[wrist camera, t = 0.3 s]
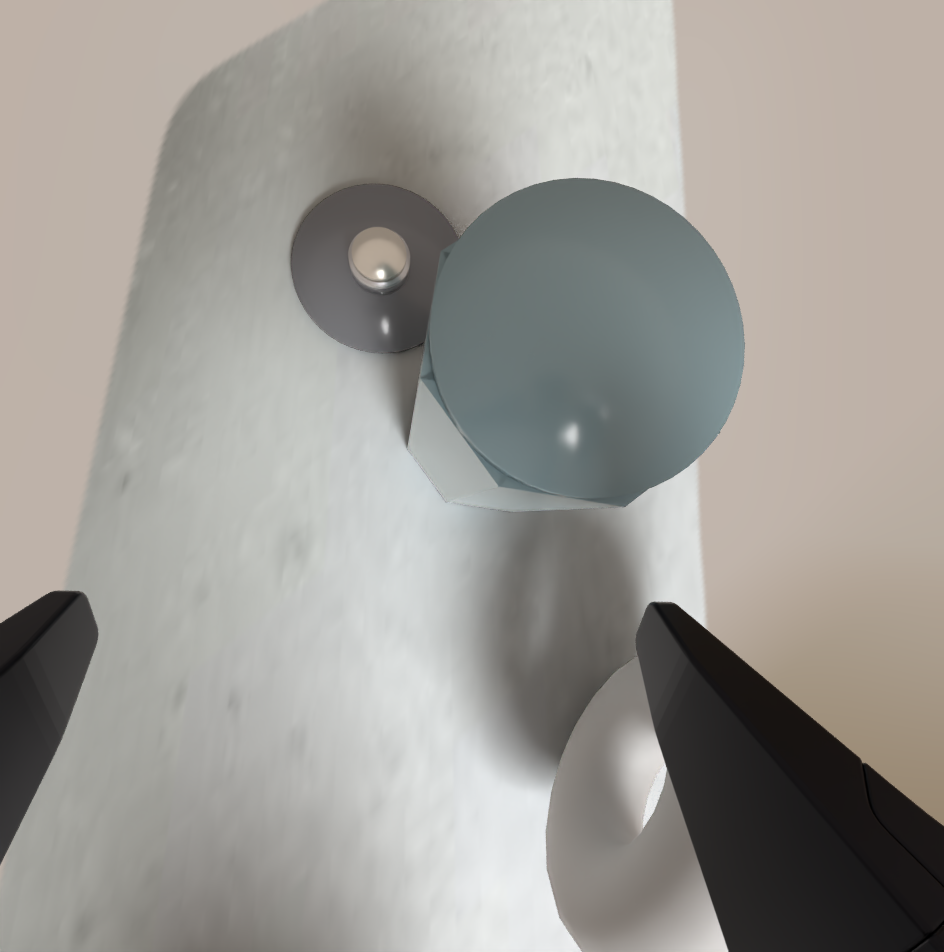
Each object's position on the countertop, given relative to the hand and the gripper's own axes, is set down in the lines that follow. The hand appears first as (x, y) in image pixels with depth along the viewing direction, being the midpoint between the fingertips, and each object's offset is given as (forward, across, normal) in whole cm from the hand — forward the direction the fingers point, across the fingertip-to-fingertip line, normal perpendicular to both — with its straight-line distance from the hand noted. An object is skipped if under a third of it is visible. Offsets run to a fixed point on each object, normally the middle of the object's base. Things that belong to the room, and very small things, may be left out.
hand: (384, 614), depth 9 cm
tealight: (+18, +1, -1) cm, 18 cm away
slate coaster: (+18, +1, -1) cm, 18 cm away
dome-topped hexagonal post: (+14, -4, +4) cm, 15 cm away
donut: (+7, -9, +14) cm, 18 cm away
